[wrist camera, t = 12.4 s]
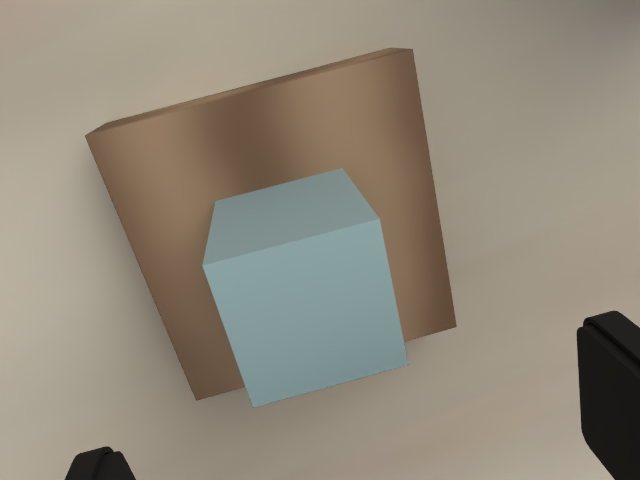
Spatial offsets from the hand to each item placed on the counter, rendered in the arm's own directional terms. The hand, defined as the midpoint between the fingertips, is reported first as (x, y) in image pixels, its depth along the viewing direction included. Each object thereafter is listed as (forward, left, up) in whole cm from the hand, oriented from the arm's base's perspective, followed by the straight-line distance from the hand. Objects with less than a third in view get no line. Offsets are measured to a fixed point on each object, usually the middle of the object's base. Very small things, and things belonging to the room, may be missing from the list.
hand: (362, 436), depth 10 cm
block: (0, 0, -11) cm, 11 cm away
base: (+1, 0, -14) cm, 14 cm away
